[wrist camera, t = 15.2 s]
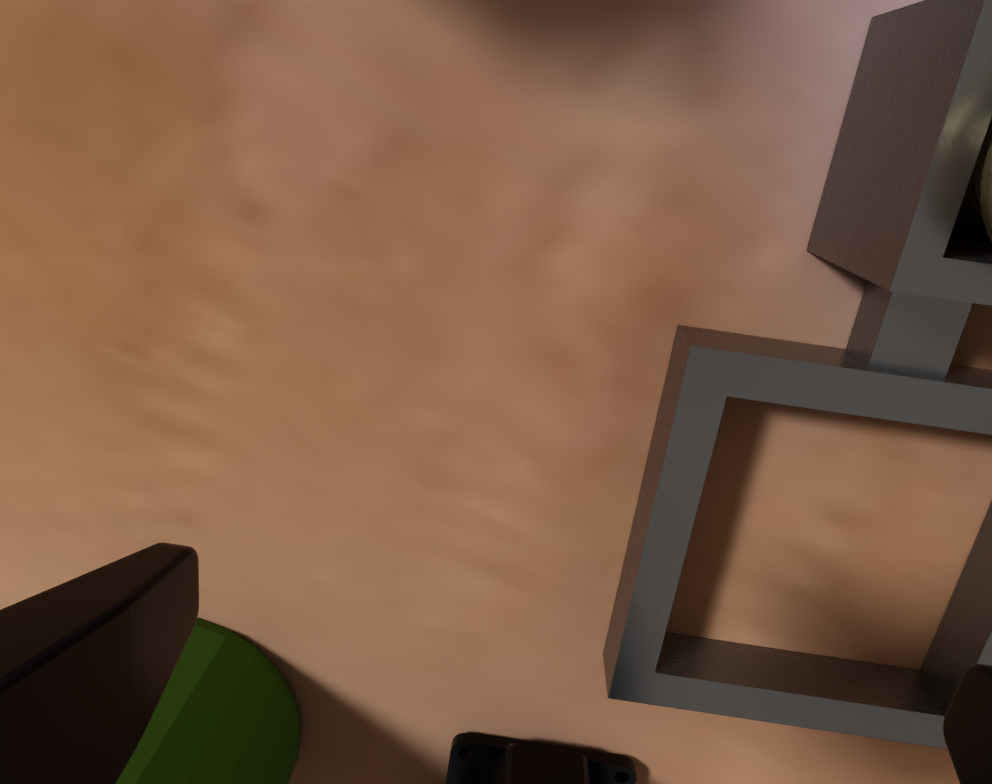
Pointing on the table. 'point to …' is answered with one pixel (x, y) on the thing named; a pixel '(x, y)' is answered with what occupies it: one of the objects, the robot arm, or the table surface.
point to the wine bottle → (219, 718)
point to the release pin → (980, 188)
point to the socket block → (839, 392)
